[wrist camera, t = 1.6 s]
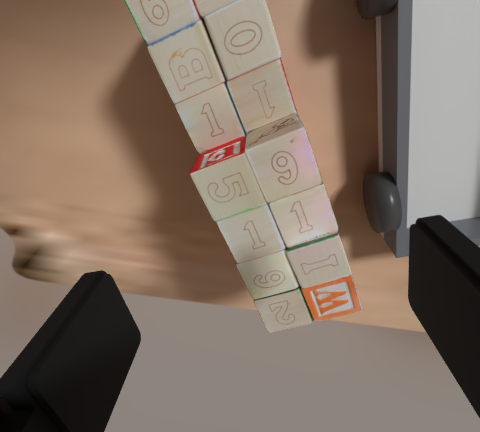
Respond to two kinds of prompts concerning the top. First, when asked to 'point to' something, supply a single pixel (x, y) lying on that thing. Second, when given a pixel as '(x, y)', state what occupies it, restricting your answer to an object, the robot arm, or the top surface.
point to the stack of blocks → (251, 154)
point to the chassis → (425, 117)
